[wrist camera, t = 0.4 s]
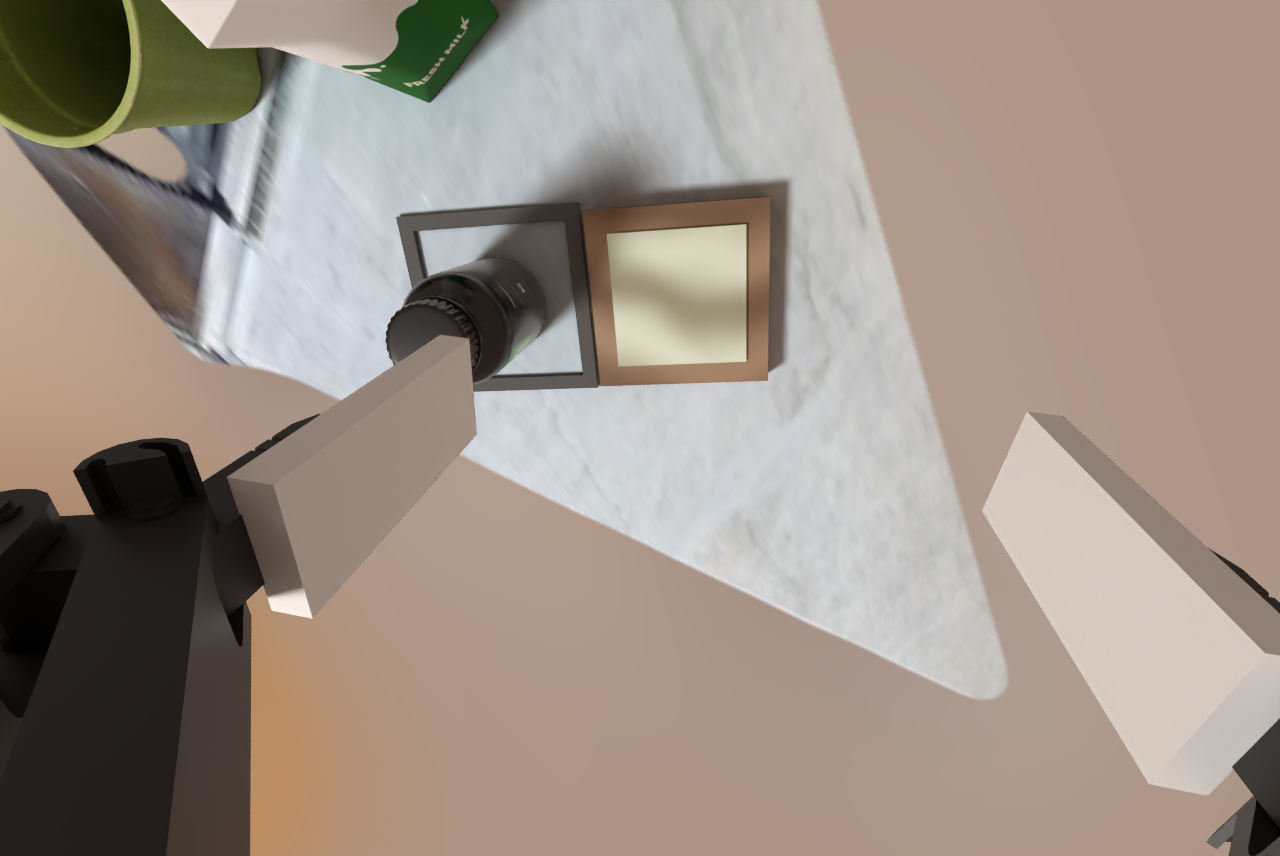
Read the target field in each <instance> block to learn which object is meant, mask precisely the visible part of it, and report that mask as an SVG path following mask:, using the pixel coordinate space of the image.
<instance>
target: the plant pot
mask: <svg viewBox="0 0 1280 856" xmlns="http://www.w3.org/2000/svg"><path fill="white" fill-rule="evenodd" d="M260 88H261V74H260V71H259V66H258V59H257V49H256V48H210V49H209V48H207V47H206V46H205V45H204V44H203V43H202V42H201V41H200V40H199V39H198V38H197V37H196V36H195V35H194V34H193V33H192V32H191V31H190V30H189V29H188V28H187V27H186V26H185V25H184V24H183V22H182V21H181V20H180V19H179V18H178V17H177V16H176V15H175V14H174V13H173V12H172V11H171V10H170V9H169V8H168V7H167V6H166V5H165V4H164V3H163V2H162V1H161V0H0V123H1V124H2V125H4V126H5V127H7V128H9V129H10V130H12V131H14V132H15V133H17V134H19V135H21V136H23V137H25V138H28V139H30V140H33V141H35V142H38V143H42V144H46V145H51V146H55V147H65V148H74V147H84V146H88V145H92V144H95V143H98V142H100V141H102V140H104V139H106V138H108V137H109V136H110V135H112V134H119V133H124V132H128V131H131V130H134V129H138V128H151V127H167V126H183V125H196V124H214V123H225V122H232V121H235V120H237V119H239V118H241V117H242V116H244V115H245V114H247V113H248V112H249V111H250V110H251V109H252V107H253V106H254V104H255V102H256V100H257V98H258V95H259V92H260Z"/></svg>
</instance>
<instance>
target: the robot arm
mask: <svg viewBox="0 0 1280 856" xmlns="http://www.w3.org/2000/svg"><path fill="white" fill-rule="evenodd" d="M476 435H477V432H476V419H475V407H474V394H473V381H472V369H471V356H470V343H469V338H461V337H453V336H446V335H439V336H438V337H436V338H435V339H433V340H432V341H430V342H429V343H427V344H426V345H424V346H423V347H421V348H420V349H418V350H417V351H415V352H414V353H412V354H411V355H409V356H408V357H406V358H405V359H403V360H402V361H400V362H399V363H397V364H396V365H394V366H393V367H391V368H390V369H388V370H387V371H385V372H384V373H382V374H381V375H379V376H378V377H376V378H375V379H373V380H372V381H370V382H369V383H367V384H366V385H364V386H363V387H361V388H360V389H358V390H357V391H355V392H354V393H352V394H351V395H349V396H348V397H346V398H345V399H343V400H342V401H340V402H339V403H337V404H336V405H334V406H333V407H331V408H330V409H328V410H327V411H325V412H324V413H322V414H317V415H315V416H312V417H309V418H307V419H304V420H301V421H299V422H296V423H294V424H291V425H290V426H288V427H287V428H285V429H284V430H282V431H281V432H279V433H277V434H276V435H275V436H273V437H272V440H267V441H265V442H263V443H262V444H260V445H259V446H257V447H256V448H255V451H250V452H248V453H246V454H245V455H243V456H242V457H240V458H239V459H237V460H236V461H234V462H233V463H231V464H229V465H228V466H226V467H225V468H223V469H222V470H220V471H219V472H217V473H216V474H214V475H213V476H211V477H210V478H208V479H206V480H205V481H203V482H202V480H201V477H200V474H199V472H198V469H197V466H196V464H195V461H194V458H193V455H192V453H191V450H190V447H189V445H188V444H187V443H185V442H183V441H181V440H178V439H169V438H153V439H142V440H137V441H133V442H128V443H124V444H119V445H116V446H113V447H111V448H108V449H105V450H102V451H100V452H97V453H96V454H94V455H92V456H90V457H89V458H87V459H85V460H83V461H82V462H81V463H80V464H79V465H78V466H77V467H76V468H75V470H73V472H74V474H75V476H76V478H77V480H78V482H79V484H80V486H81V488H82V490H83V492H84V494H85V496H86V498H87V500H88V502H89V504H90V507H91V508H92V511H93V513H94V515H76V516H60V515H59V514H58V512H57V510H56V508H55V506H54V504H53V502H52V500H51V498H50V497H49V495H48V493H46V492H43V491H40V490H36V489H15V490H9V491H2V492H0V856H250V757H251V749H250V748H251V614H250V611H249V609H248V606H247V603H246V601H247V599H249V598H250V596H252V595H253V594H254V593H255V592H256V591H257V590H258V589H259V588H260V587H261V586H264V589H265V592H266V594H267V597H268V600H269V603H270V606H271V609H272V611H277V612H282V613H287V614H292V615H297V616H302V617H307V618H312V619H313V618H314V617H315V615H316V614H317V613H318V612H319V611H320V610H321V609H322V608H323V606H324V605H325V604H326V603H327V602H328V601H329V600H330V599H331V597H332V596H333V595H334V594H335V593H336V592H337V591H338V589H340V587H341V586H342V585H343V584H344V583H345V582H346V581H347V579H348V578H349V577H350V576H351V575H352V574H353V573H354V572H355V570H356V569H357V568H358V567H359V566H360V565H361V564H362V563H363V562H364V560H365V559H366V558H367V557H368V556H369V555H370V554H371V553H372V551H373V550H374V549H375V548H376V547H377V546H378V545H379V544H380V542H381V541H382V540H383V539H384V538H385V537H386V536H387V535H388V533H389V532H390V531H391V530H392V529H393V528H394V527H395V526H396V525H397V523H398V522H399V521H400V520H401V519H402V518H403V517H404V516H405V514H406V513H407V512H408V511H409V510H410V509H411V508H412V507H413V505H414V504H415V503H416V502H417V501H418V500H419V499H420V497H421V496H422V495H423V494H424V493H425V492H426V491H427V490H428V489H429V487H430V486H431V485H432V484H433V483H434V482H435V481H436V480H437V478H438V477H439V476H440V475H441V474H442V473H443V472H444V470H445V469H446V468H447V467H448V466H449V465H450V464H451V463H452V462H453V461H454V459H455V458H456V457H457V456H458V455H459V454H460V453H461V452H462V450H463V449H464V448H465V447H466V446H467V445H468V444H469V443H470V441H471V440H472V439H473V438H474V437H475V436H476ZM982 511H983V513H984V515H985V516H986V518H987V520H988V521H989V523H990V525H991V526H992V528H993V530H994V531H995V533H996V534H997V536H998V538H999V539H1000V541H1001V543H1002V544H1003V546H1004V548H1005V549H1006V551H1007V552H1008V554H1009V556H1010V557H1011V559H1012V561H1013V562H1014V564H1015V566H1016V567H1017V569H1018V570H1019V572H1020V574H1021V575H1022V577H1023V579H1024V580H1025V582H1026V584H1027V585H1028V587H1029V588H1030V590H1031V592H1032V593H1033V595H1034V596H1035V598H1036V600H1037V602H1038V603H1039V605H1040V606H1041V608H1042V610H1043V611H1044V613H1045V615H1046V616H1047V618H1048V620H1049V621H1050V623H1051V624H1052V626H1053V627H1054V629H1055V631H1056V633H1057V634H1058V636H1059V637H1060V639H1061V641H1062V642H1063V644H1064V646H1065V647H1066V649H1067V651H1068V652H1069V654H1070V655H1071V657H1072V659H1073V660H1074V662H1075V664H1076V665H1077V667H1078V669H1079V670H1080V672H1081V673H1082V675H1083V677H1084V678H1085V680H1086V682H1087V683H1088V685H1089V687H1090V688H1091V690H1092V692H1093V693H1094V695H1095V696H1096V698H1097V700H1098V701H1099V703H1100V705H1101V706H1102V708H1103V710H1104V711H1105V713H1106V714H1107V716H1108V718H1109V719H1110V721H1111V723H1112V724H1113V726H1114V728H1115V729H1116V731H1117V732H1118V734H1119V736H1120V737H1121V739H1122V741H1123V742H1124V744H1125V745H1126V747H1127V749H1128V750H1129V752H1130V754H1131V755H1132V757H1133V759H1134V760H1135V762H1136V763H1137V765H1138V767H1139V768H1140V770H1141V772H1142V773H1143V775H1144V777H1145V778H1146V780H1147V782H1148V783H1149V784H1151V785H1157V786H1161V787H1167V788H1172V789H1177V790H1182V791H1187V792H1193V793H1197V794H1202V795H1207V796H1208V795H1209V794H1210V793H1211V792H1212V791H1213V790H1214V789H1215V788H1216V787H1217V786H1218V785H1219V783H1220V782H1221V781H1222V780H1223V779H1225V777H1226V776H1227V775H1228V774H1229V773H1230V772H1231V771H1232V770H1233V769H1234V770H1235V772H1236V773H1237V774H1238V776H1239V777H1240V778H1241V779H1242V781H1243V782H1244V783H1245V785H1246V786H1247V787H1248V789H1249V790H1250V791H1251V793H1252V794H1253V795H1254V796H1253V797H1252V798H1251V799H1250V800H1248V802H1246V803H1245V804H1244V805H1243V806H1242V807H1241V808H1240V809H1239V810H1238V811H1237V812H1236V813H1235V814H1234V815H1233V816H1232V817H1230V818H1229V819H1228V820H1227V821H1226V822H1225V823H1224V824H1223V825H1222V826H1221V827H1220V828H1219V829H1218V830H1217V831H1216V832H1215V833H1214V834H1213V835H1212V836H1211V837H1210V838H1209V840H1208V841H1207V843H1208V844H1210V845H1211V846H1213V847H1214V848H1216V849H1217V848H1218V847H1220V846H1221V845H1222V844H1223V843H1224V842H1231V847H1230V852H1229V856H1280V603H1279V602H1278V601H1277V600H1276V599H1275V598H1271V597H1269V595H1268V594H1269V593H1268V592H1267V591H1266V590H1265V589H1264V588H1263V587H1262V586H1260V585H1259V584H1258V583H1257V582H1256V581H1255V580H1254V579H1253V578H1251V577H1250V576H1249V575H1248V574H1247V573H1246V572H1245V571H1244V570H1243V569H1241V568H1239V567H1238V566H1236V565H1234V564H1233V563H1231V562H1230V561H1228V560H1226V559H1225V558H1223V557H1222V556H1220V555H1218V554H1217V553H1215V552H1213V551H1212V550H1211V549H1209V548H1207V547H1206V546H1205V545H1204V544H1203V543H1202V542H1201V541H1200V540H1199V539H1197V538H1196V537H1195V536H1194V535H1193V534H1192V533H1191V532H1190V531H1189V530H1188V529H1187V528H1185V527H1184V526H1183V525H1182V524H1181V523H1180V522H1179V521H1178V520H1177V519H1175V518H1174V517H1173V516H1172V515H1171V514H1170V513H1169V512H1168V511H1167V510H1166V509H1165V508H1164V507H1162V506H1161V505H1160V504H1159V503H1158V502H1157V501H1156V500H1155V499H1153V498H1152V497H1151V496H1150V495H1149V494H1148V493H1147V492H1146V491H1145V490H1144V489H1143V488H1142V487H1140V486H1139V485H1138V484H1137V483H1136V482H1135V481H1134V480H1133V479H1132V478H1131V477H1129V476H1128V475H1127V474H1126V473H1125V472H1124V471H1123V470H1122V469H1121V468H1120V467H1118V465H1116V464H1115V463H1114V462H1113V461H1112V460H1111V459H1110V458H1109V457H1107V455H1105V454H1104V453H1103V452H1102V451H1101V450H1100V449H1099V448H1098V447H1097V446H1096V445H1094V444H1093V443H1092V442H1091V441H1090V440H1089V439H1088V438H1087V437H1086V436H1085V435H1083V434H1082V433H1081V432H1080V431H1079V430H1078V429H1077V428H1076V427H1075V426H1074V425H1072V424H1071V423H1070V422H1069V421H1068V420H1067V419H1066V418H1065V417H1064V416H1056V415H1048V414H1041V413H1033V412H1027V413H1026V415H1025V417H1024V420H1023V422H1022V424H1021V426H1020V428H1019V430H1018V433H1017V435H1016V437H1015V439H1014V442H1013V444H1012V446H1011V448H1010V450H1009V453H1008V455H1007V457H1006V459H1005V461H1004V464H1003V466H1002V468H1001V470H1000V472H999V475H998V477H997V479H996V481H995V484H994V486H993V488H992V490H991V493H990V495H989V497H988V499H987V501H986V504H985V506H984V508H983V510H982Z"/></svg>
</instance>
